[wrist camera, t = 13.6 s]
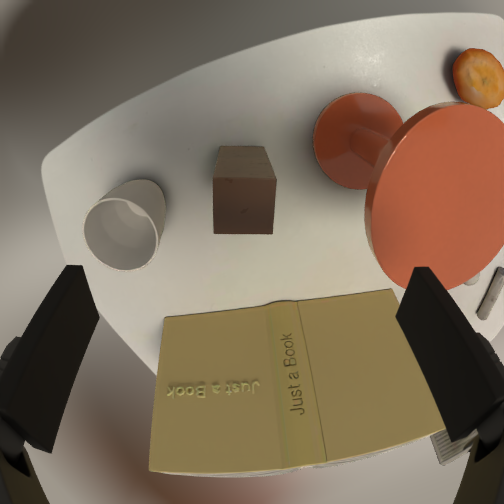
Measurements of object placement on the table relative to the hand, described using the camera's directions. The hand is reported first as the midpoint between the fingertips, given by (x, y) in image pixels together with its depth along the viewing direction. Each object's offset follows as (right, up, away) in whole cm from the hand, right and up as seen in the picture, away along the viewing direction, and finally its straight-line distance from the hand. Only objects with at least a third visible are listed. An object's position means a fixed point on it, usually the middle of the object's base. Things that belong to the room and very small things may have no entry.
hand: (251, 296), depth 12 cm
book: (+5, -9, +37) cm, 38 cm away
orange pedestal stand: (+13, +15, +22) cm, 30 cm away
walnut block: (-1, +12, +24) cm, 26 cm away
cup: (-13, +8, +25) cm, 30 cm away
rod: (+48, -6, +37) cm, 61 cm away
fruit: (+28, +25, +17) cm, 42 cm away
